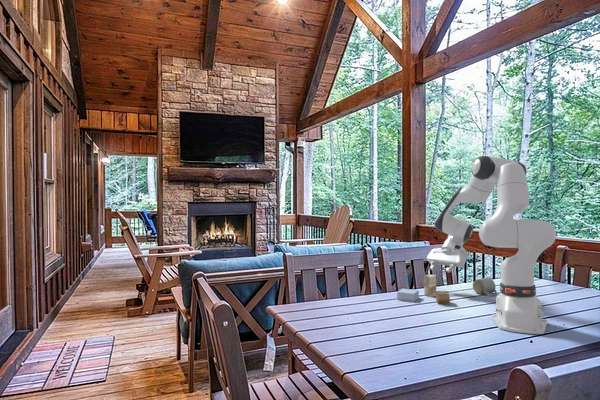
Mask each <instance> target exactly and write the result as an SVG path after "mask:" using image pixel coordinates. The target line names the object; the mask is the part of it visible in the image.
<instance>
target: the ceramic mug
mask: <svg viewBox="0 0 600 400" xmlns="http://www.w3.org/2000/svg"><path fill="white" fill-rule="evenodd" d="M472 288H473V291H474V292H475V293H476V294H478V295H487V296H489V297H497V295H498V294H497V293H498V291H497V290H496V288H497V287H496V284H495V281H494V279H493V278H491V277H484V278H482V277H481V278H478V279H476V280H474V281H473V282H472Z"/></svg>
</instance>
